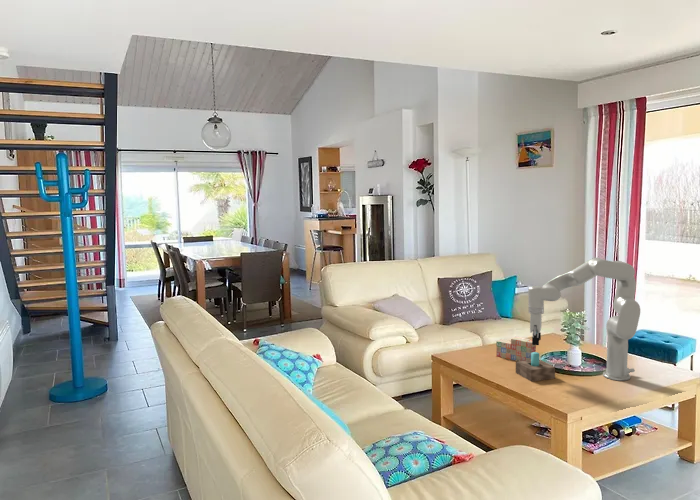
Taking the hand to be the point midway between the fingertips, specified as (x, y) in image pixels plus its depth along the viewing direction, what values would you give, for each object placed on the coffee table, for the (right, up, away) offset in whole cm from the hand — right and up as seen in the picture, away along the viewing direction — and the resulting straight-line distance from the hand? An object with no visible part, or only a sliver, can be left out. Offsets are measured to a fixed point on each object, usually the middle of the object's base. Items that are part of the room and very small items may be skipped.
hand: (536, 342), depth 277 cm
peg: (0, -18, +2) cm, 18 cm away
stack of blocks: (-1, -15, +31) cm, 34 cm away
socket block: (0, -18, +2) cm, 18 cm away
